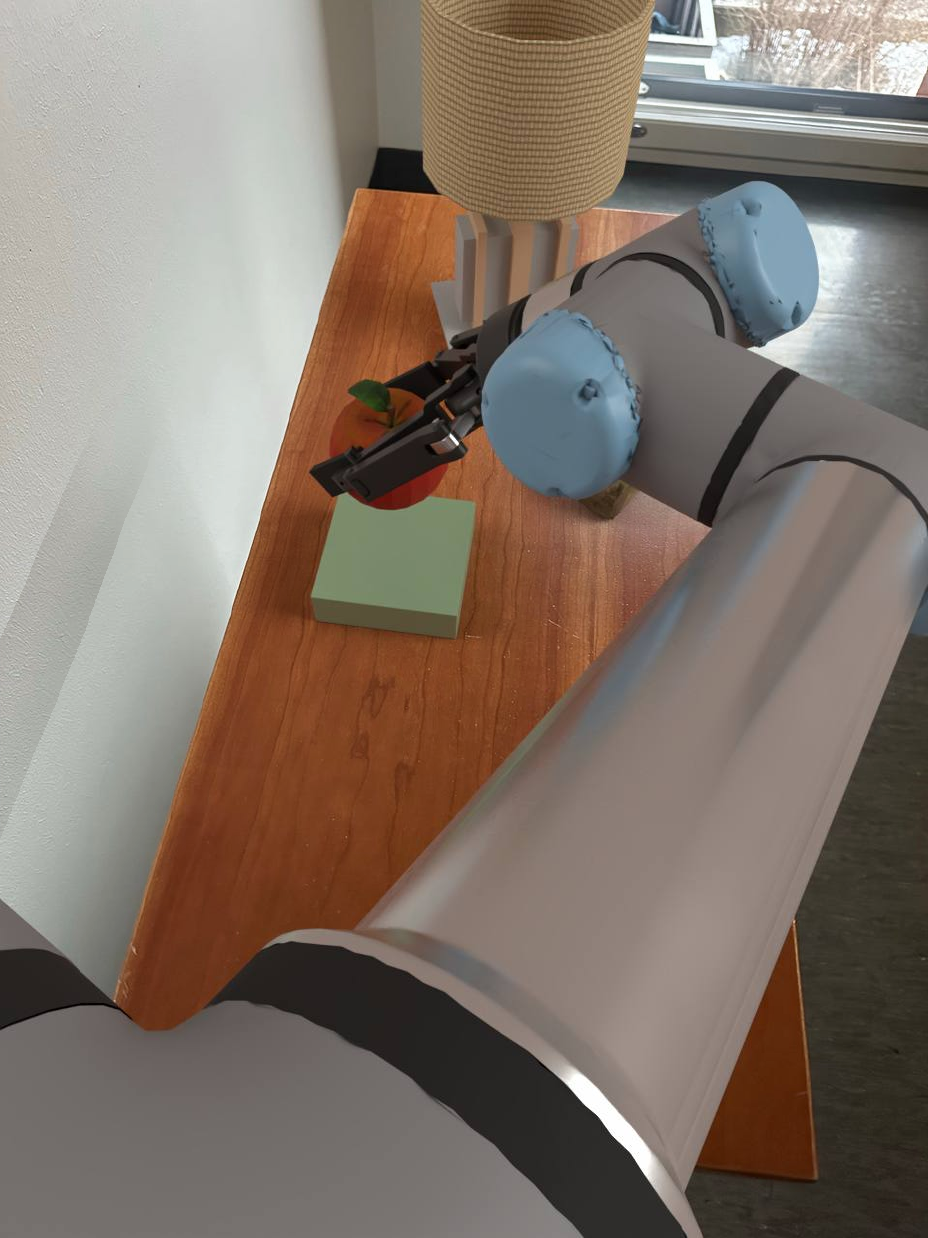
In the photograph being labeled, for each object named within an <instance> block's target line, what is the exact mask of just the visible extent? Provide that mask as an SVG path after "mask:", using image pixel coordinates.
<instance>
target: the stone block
mask: <svg viewBox="0 0 928 1238" xmlns="http://www.w3.org/2000/svg"><path fill="white" fill-rule="evenodd" d="M639 492H640V491H639V490H637V489H635V488H634V487H632V486H630V485H628V484H627V483H625V482H623V481H621V480H619V481H618V482H617V483H612V484H611V485H610V486H609V487H606V488H605V489H603V490H602V491H601V492H599V493H597V494H595V495H593V496H590V497H588V498H584V499H579V500H578V501H579V502H580V503H582V504H583V505H584V506H586V507H587V508H588V509H590V510H591V511H592V512H594V513H595V514H597V515H599V516H601V517H603V518H604V519H608V520H612V521H614V519H615V518H617V516H618V515H619V514H620V513H621V512H622V511H623V509H625V508H626V506H628V504H629V503H630V502H631V501H632V500H633V499H634V498H635V497H636V496H637V495H638V493H639Z"/></svg>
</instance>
